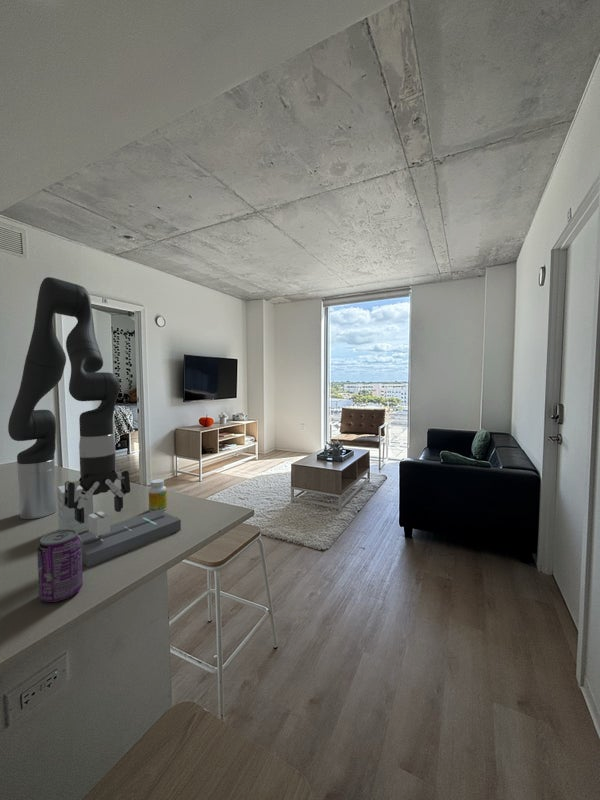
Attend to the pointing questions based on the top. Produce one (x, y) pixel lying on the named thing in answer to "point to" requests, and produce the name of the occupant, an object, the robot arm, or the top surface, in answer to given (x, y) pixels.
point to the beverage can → (59, 565)
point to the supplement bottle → (157, 496)
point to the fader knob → (99, 523)
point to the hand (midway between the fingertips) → (100, 516)
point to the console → (127, 536)
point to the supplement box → (68, 514)
